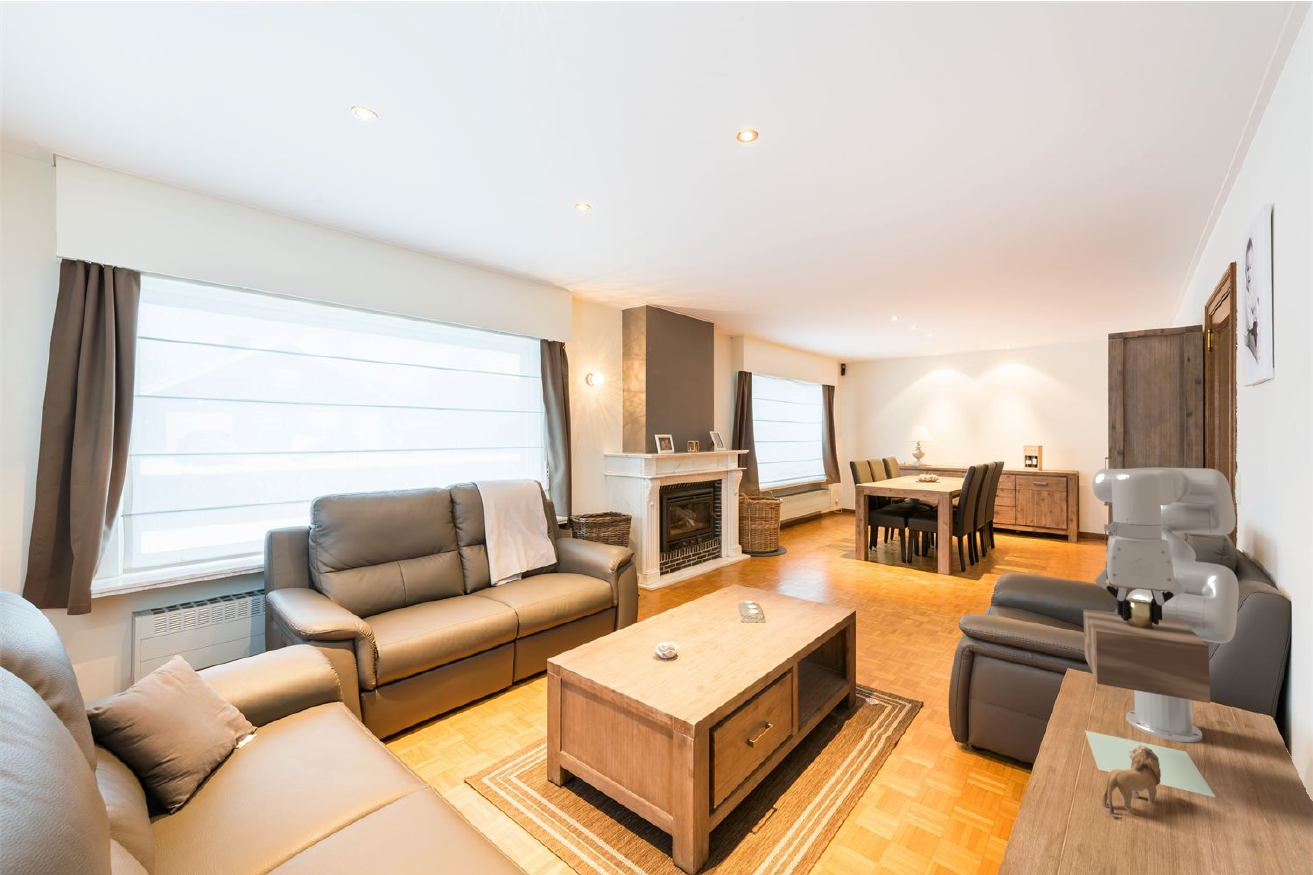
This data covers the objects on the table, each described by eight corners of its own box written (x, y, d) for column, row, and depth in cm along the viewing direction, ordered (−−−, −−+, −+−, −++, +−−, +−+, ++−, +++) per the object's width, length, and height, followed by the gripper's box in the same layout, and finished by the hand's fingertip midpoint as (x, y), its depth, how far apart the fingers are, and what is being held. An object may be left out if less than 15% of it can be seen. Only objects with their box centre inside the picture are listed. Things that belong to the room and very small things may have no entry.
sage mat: (1084, 732, 121) (1084, 730, 121) (1186, 753, 112) (1186, 751, 112) (1098, 771, 107) (1098, 769, 107) (1216, 799, 98) (1216, 797, 98)
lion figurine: (1132, 784, 103) (1131, 737, 103) (1169, 800, 98) (1167, 751, 98) (1094, 809, 96) (1092, 759, 96) (1131, 828, 91) (1129, 775, 91)
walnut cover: (1084, 655, 121) (1082, 586, 121) (1182, 670, 112) (1180, 596, 112) (1097, 683, 107) (1095, 605, 107) (1210, 703, 98) (1207, 618, 98)
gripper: (1088, 531, 111) (1090, 619, 111) (1199, 537, 102) (1202, 633, 102) (1082, 526, 117) (1084, 609, 117) (1186, 532, 109) (1189, 622, 108)
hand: (1139, 619), depth 110 cm, fingers closed on walnut cover, 4 cm apart
